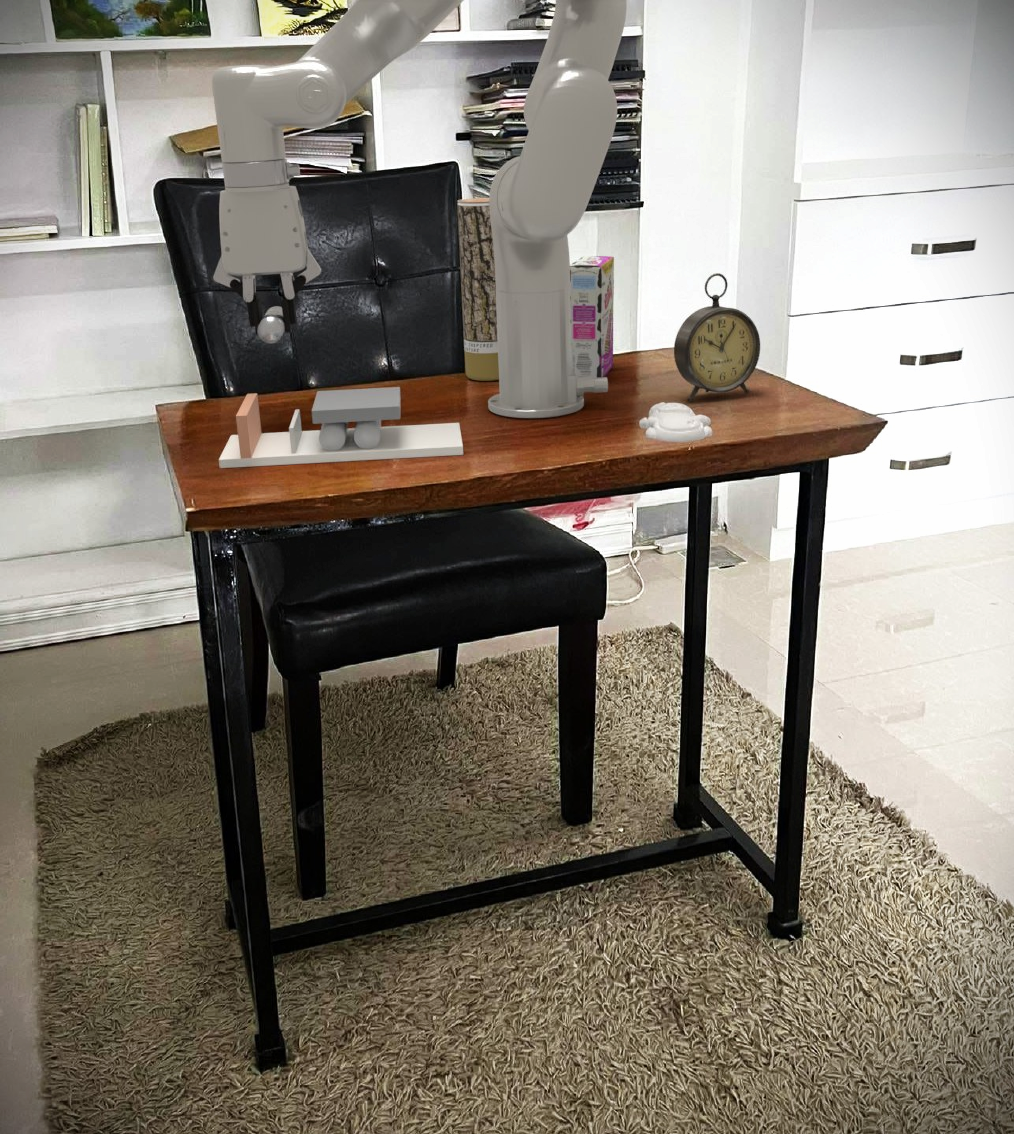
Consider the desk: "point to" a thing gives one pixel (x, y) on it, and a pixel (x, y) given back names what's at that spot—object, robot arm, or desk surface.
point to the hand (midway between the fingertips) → (274, 330)
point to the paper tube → (478, 289)
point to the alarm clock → (717, 347)
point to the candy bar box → (592, 315)
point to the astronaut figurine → (675, 423)
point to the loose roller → (272, 325)
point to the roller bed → (350, 449)
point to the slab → (356, 405)
